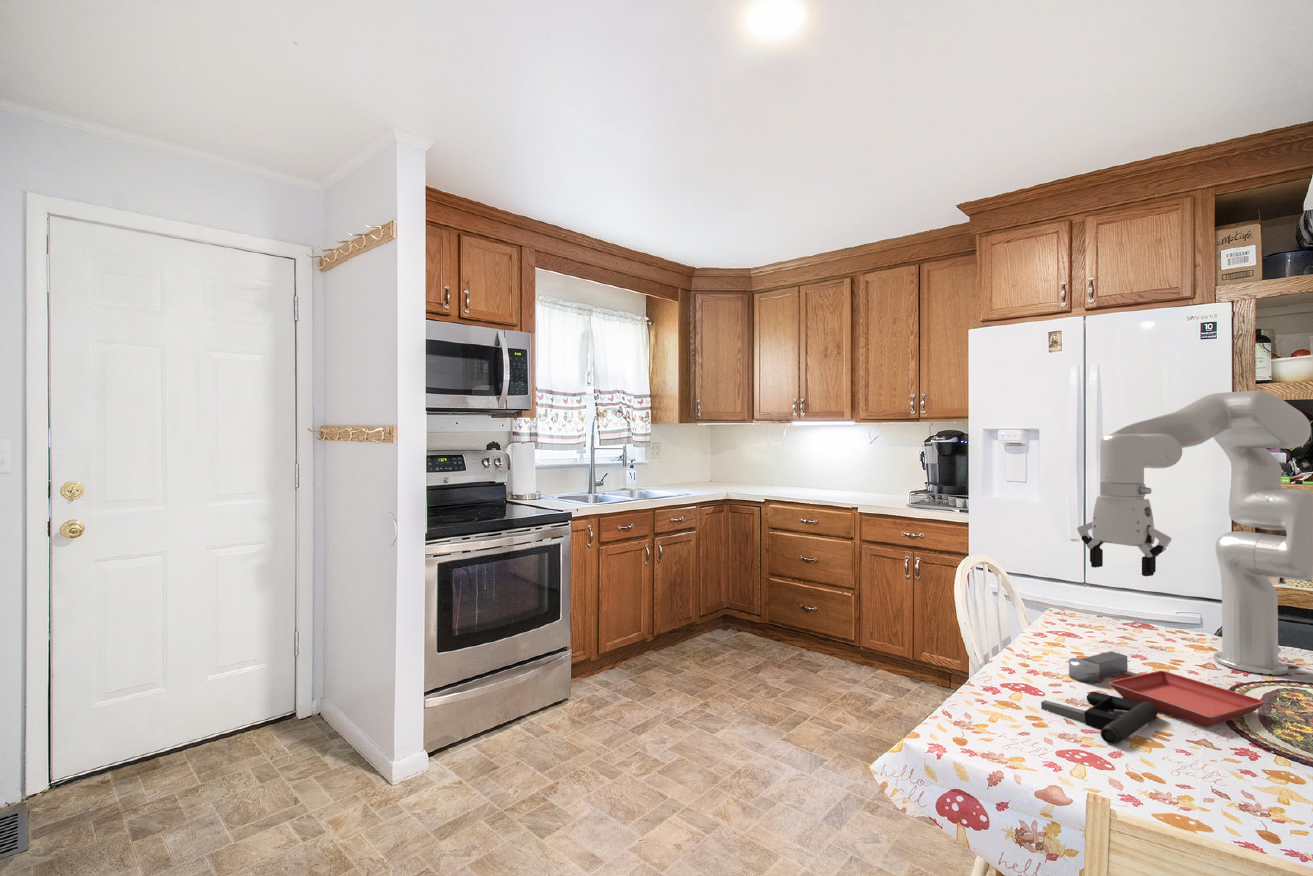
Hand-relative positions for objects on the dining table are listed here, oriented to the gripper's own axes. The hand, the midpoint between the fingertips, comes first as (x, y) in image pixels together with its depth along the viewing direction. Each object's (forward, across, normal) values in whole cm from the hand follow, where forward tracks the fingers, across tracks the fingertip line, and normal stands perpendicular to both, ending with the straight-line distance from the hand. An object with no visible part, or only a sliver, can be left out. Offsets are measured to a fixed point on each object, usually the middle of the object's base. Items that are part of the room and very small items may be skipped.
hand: (1121, 571), depth 130 cm
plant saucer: (+26, -10, -3) cm, 28 cm away
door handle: (+26, -5, +19) cm, 33 cm away
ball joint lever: (+25, +7, -5) cm, 27 cm away
